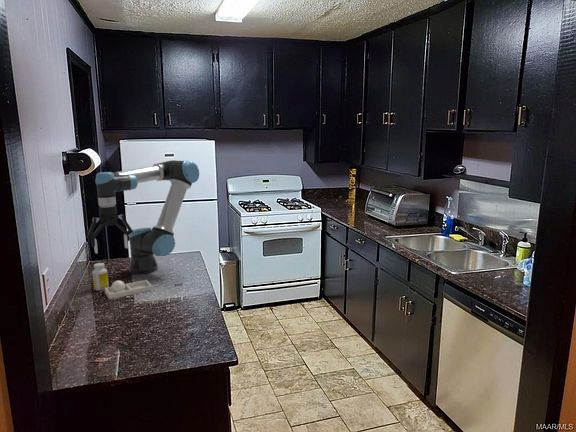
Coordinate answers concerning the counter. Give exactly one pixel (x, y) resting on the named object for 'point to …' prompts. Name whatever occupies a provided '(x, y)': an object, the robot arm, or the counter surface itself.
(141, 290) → the carrier
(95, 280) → the supplement bottle
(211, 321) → the counter surface
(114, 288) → the ivory egg
